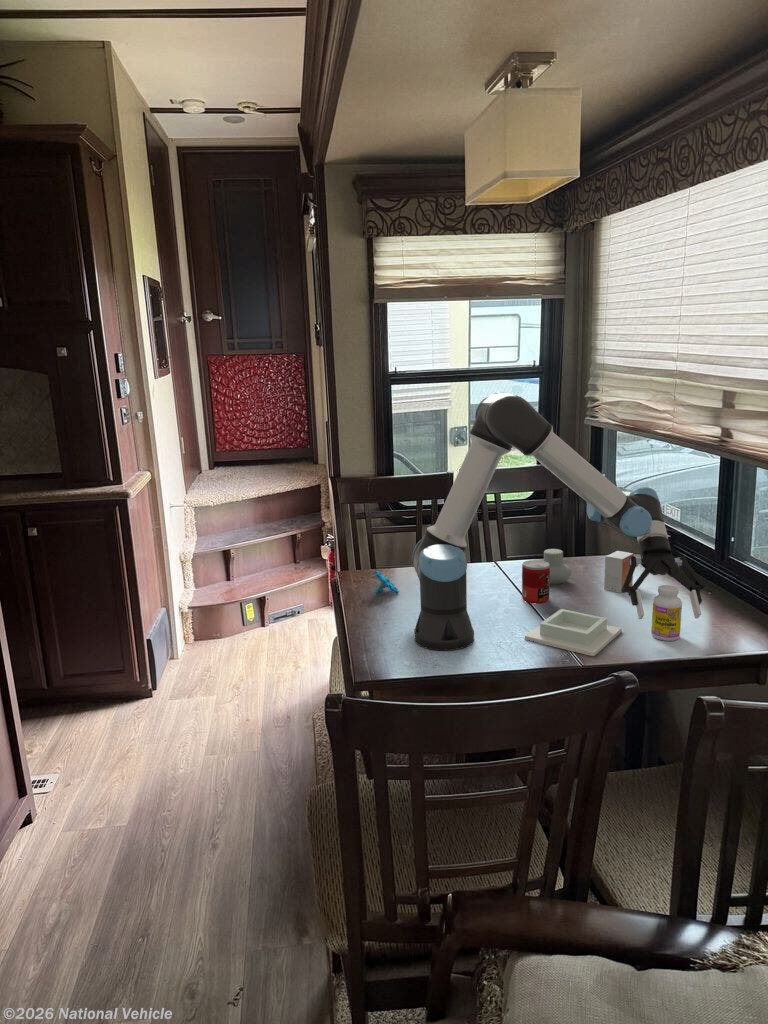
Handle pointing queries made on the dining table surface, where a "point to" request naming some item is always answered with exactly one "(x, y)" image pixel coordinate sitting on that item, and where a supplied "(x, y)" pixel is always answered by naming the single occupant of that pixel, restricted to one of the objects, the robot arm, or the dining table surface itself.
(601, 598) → the dining table surface
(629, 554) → the small box
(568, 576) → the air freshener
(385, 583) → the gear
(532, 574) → the canned food
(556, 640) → the tray
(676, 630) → the supplement bottle
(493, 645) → the dining table surface
